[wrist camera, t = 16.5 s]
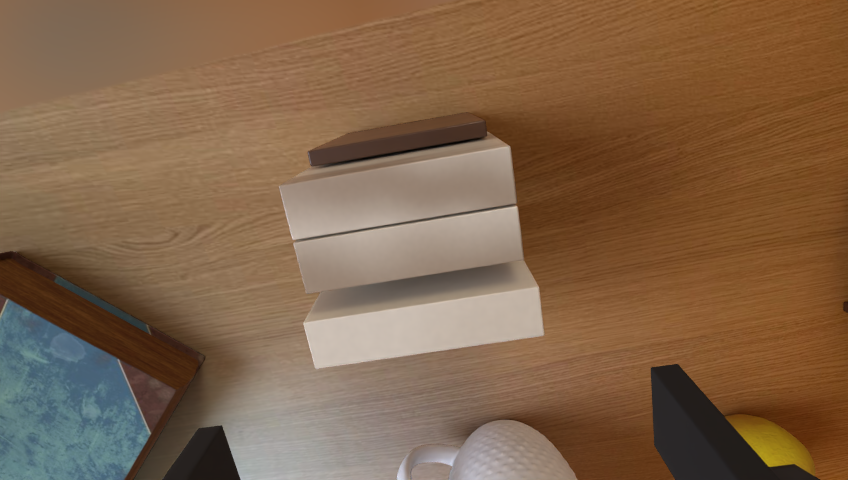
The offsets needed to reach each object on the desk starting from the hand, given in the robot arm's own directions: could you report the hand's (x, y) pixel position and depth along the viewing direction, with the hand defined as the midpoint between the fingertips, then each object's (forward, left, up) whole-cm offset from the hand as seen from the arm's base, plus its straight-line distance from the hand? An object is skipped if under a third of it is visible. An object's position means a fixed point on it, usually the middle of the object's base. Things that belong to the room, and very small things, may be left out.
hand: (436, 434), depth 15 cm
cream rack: (-1, -2, -24) cm, 24 cm away
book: (+30, -21, -24) cm, 44 cm away
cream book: (+1, 0, -24) cm, 24 cm away
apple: (+3, +31, -24) cm, 40 cm away
